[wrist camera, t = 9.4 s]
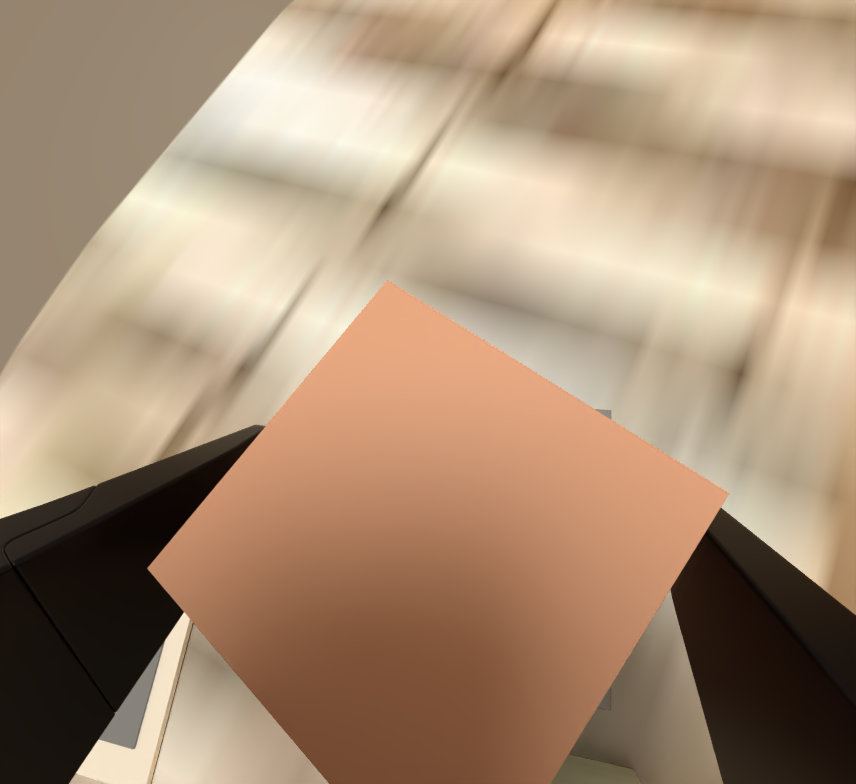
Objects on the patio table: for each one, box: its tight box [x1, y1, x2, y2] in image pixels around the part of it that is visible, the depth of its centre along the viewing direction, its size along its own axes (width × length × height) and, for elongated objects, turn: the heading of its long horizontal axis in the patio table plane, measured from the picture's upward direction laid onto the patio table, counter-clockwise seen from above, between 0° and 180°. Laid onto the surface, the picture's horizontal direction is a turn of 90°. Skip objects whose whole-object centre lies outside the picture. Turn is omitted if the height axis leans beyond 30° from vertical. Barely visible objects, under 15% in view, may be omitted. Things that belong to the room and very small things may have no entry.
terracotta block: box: [147, 280, 729, 784], centre depth 12 cm, size 6×6×12 cm
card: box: [76, 612, 193, 784], centre depth 20 cm, size 8×8×1 cm
